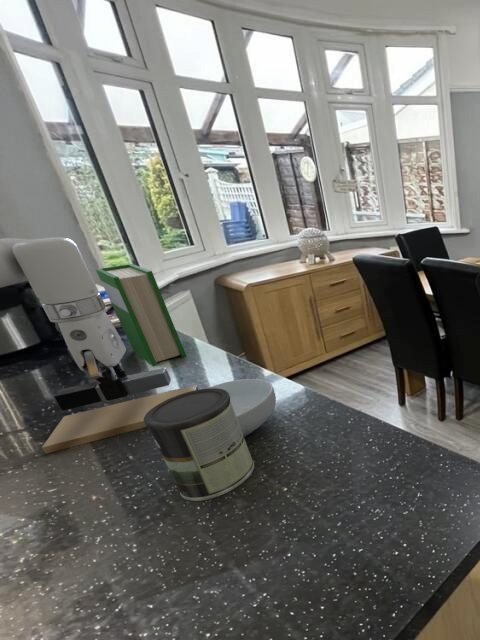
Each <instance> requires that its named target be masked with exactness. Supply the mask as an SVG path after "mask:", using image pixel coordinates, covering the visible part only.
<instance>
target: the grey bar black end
mask: <svg viewBox="0 0 480 640" xmlns="http://www.w3.org/2000/svg"><path fill="white" fill-rule="evenodd" d="M120 378H121V380H122V382H123V384H124V386H125V388H126V390H127V392H128V396H131V395H134V394H139V393H143V392H147V391H151V390H155V389H159V388H164V387H169V386H170V384H171V381H172V379H171V377H170V374H169V371H168V369H167V367H161V368H157V369H152V370H147V371H143V372H139V373H138V372H137V373H133V374H128V375H127V376H124V377H120ZM53 398H54V399H55V401H56V403H57V404H58V406H59V408H60V409H61V411H62V412H64V411H68V410H72V409H76V408H81V407H85V406H89V405H94V404H97V403H101V402H104V401H105V402H106V401H107V400H106V399H105V397H104V395H103V393H102V391H101V389H100V387H99V386H98V384H97V383H96V381H92V382H88V383H83V384H79V385H74V386H69V387H65V388H60V389H59V390H58V391H57V392H56V394H55V395H54V396H53Z"/></svg>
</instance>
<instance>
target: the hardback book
mask: <svg viewBox="0 0 480 640" xmlns="http://www.w3.org/2000/svg"><path fill="white" fill-rule="evenodd" d="M95 271H96V273H97V275H98V278H99V281H100V282H101V284H102V286H103V288H104V290H105V291H104V292H105V293H106V295H107V297H108V299H109V301H110V304H111V306H112V308H113V310H114V312H115V315H116V317H117V319H118V321H119V323H120V326H121V327H122V329H123V331H124V334H125V335H126V338H127V340H128V342H129V344H130V347H131V348H132V351H133V352H134V353H135V354H136V355H137V356H139V357H140V358H141V359H143V360H144V361H145V362H147V363H148V364H149V365H151V366H152V367H156V366H158V362H162V361H164V360H168V359H171V358H175V357H178V356H180V357H181V358H185V357H187V354H186V352H185V349H184V347H183V344H182V342H181V339H180V337H179V334H178V331H177V329H176V327H175V324H174V322H173V319H172V317H171V315H170V312H169V309H168V307H167V305H166V303H165V300H164V297H163V294H162V292H161V290H160V288H159V285H158V283H157V280H156V278H155V275H154V273H153V271H152V270H151V269H148V268H145V267H142V266H140V265H136V264H134V263H128V264H127V263H126V264H122V265H121V264H120V265H115V266H114V265H113V266H109V267H107V266H106V267H102V268H95Z"/></svg>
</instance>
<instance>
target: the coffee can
mask: <svg viewBox="0 0 480 640" xmlns="http://www.w3.org/2000/svg"><path fill="white" fill-rule="evenodd" d="M207 388H208V389H206V388H201V389H198V390H195V391H190V392H187V393H183V394H180V395H177V396H175V397H172V398H170V399H168V400H165V401H164V402H162V403H160V404H158V405H156V406H155V407H153V408H152V409H151V410H150V411H149V412H147V414H146V415H145V417H144V423H145V424H146V426H147V427H146V428H148V430H149V432H150V434H151V437H152V439H153V440H154V442H155V444H156V446H157V449H158V450H159V453H160V454H161V457H162V458H163V460H164V463H165V465H166V467H167V468H168V471H169V472H170V475H171V476H172V479H173V481H174V483H175V485H176V487H177V489H178V491H179V494H180V496H181V497H182V498H183V499H184V500H186V501H190V502H203V501H208V500H212V499H214V498H218V497H221V496H223V495H225V494H227V493H230V492H231V491H233V490H235V489H236V488H238V487H240V486H241V485H242V484H243V483H244V482H245V481H246V480H247V479H249V477H250V476H251V475H252V473H253V471H254V469H255V462H254V460H253V458H252V455H251V453H250V450H249V447H248V445H247V442H246V439H245V437H244V436H243V433H242V431H241V428H240V425H239V423H238V420H237V417H236V415H235V412H234V409H233V407H232V404H231V401H230V395H229V393H228V392H227V391H226V390H223V389H218V388H209V387H207Z"/></svg>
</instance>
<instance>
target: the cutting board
mask: <svg viewBox="0 0 480 640" xmlns="http://www.w3.org/2000/svg"><path fill="white" fill-rule="evenodd" d="M195 390H199V387H198V385H197V384H193V385H190V386H185V387H180V388H176V389H172V390H168V391H163V392H159V393H155V394H151V395H147V396H143V397H139V398H135V399H131V400H125V401H122V402H118V403H114V404H110V405H106V406H102V407H97V408H93V409H89V410H85V411H81V412H77V413H72V414H68V415H64V416H63V417H62V418H61V420H60V421H59V423H57V425H56V427H55V428H54V429H53V431H52V432H51V434H50V435H49V437H48V438H47V439H46V441H45V442H44V443H43V444H42V446H41V449H42V451H43V453H44V454H45V455H47V454H51V453H55V452H58V451H63V450H66V449H69V448H73V447H77V446H80V445H85V444H89V443H92V442H95V441H99V440H103V439H107V438H110V437H114V436H118V435H121V434H127V433H129V432H134V431H137V430H141V429H144V428H148V427H147V426H146V424H145V423H144V417H145V415H146V414H147V412H149V411H150V410H151V409H152V408H153V407H155V406H156V405H158V404H160V403H162V402H164V401H165V400H168V399H170V398H172V397H175V396H177V395H180V394H183V393H187V392H190V391H195Z"/></svg>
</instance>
